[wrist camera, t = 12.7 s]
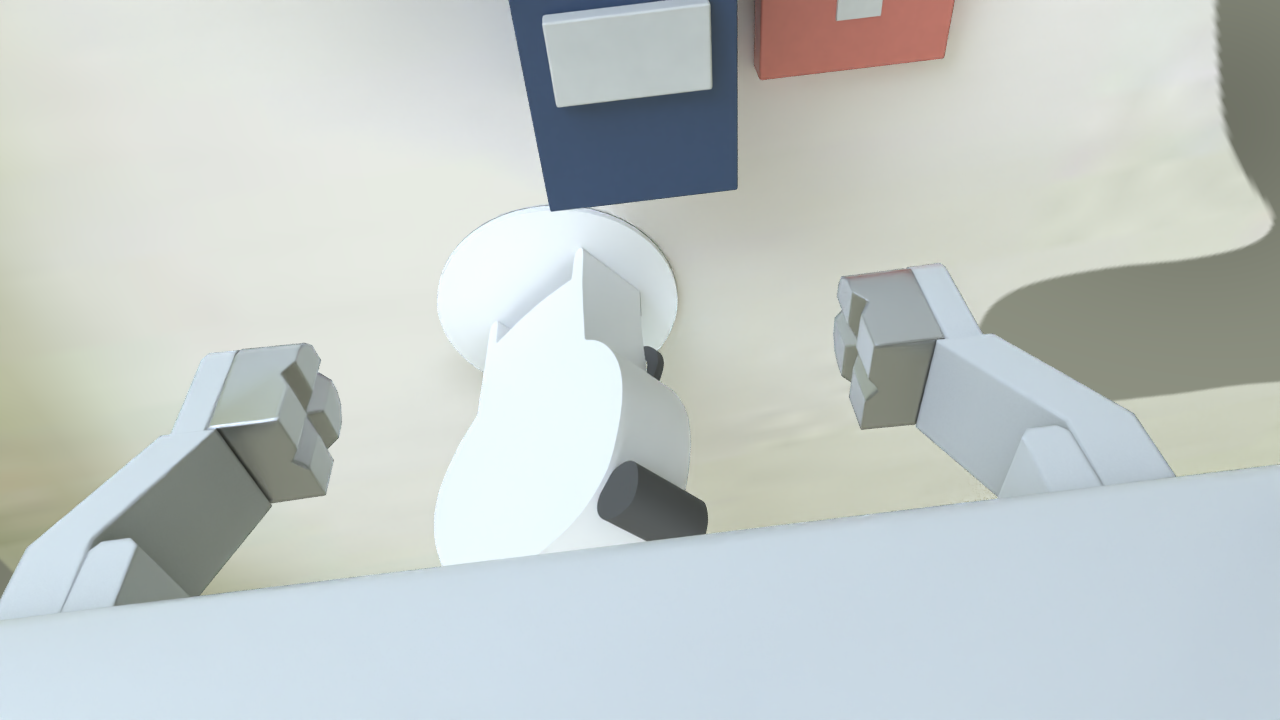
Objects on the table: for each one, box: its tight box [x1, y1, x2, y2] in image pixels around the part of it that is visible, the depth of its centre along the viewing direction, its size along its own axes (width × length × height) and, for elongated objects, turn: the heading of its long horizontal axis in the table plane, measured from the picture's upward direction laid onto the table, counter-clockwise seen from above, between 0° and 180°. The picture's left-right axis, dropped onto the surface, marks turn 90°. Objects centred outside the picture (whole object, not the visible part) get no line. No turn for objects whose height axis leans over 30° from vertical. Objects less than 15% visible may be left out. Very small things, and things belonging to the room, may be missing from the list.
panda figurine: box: [434, 206, 708, 566], centre depth 34 cm, size 12×11×15 cm
